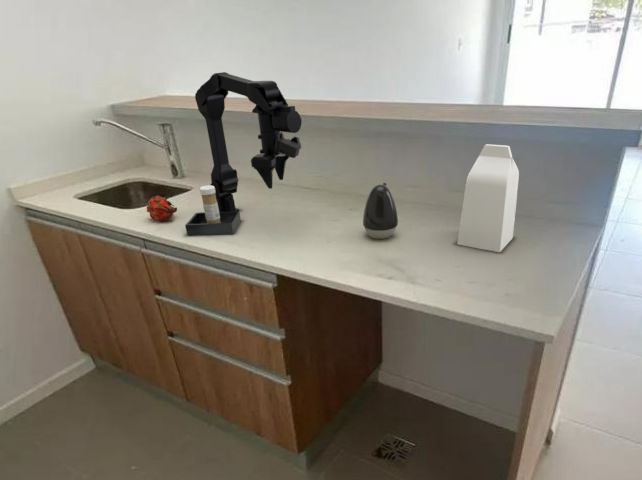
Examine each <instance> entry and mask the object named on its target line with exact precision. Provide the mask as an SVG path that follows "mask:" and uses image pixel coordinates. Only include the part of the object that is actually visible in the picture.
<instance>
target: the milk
mask: <svg viewBox="0 0 642 480" xmlns="http://www.w3.org/2000/svg"><path fill="white" fill-rule="evenodd" d="M519 180H520V172H519V167H518V166H517V164H516V161H515V160H514V157H513V153H512V150H511V146H510V145H503V144H492V143H491V144H490V143H486V144H484V146H483V148H482V149H481V151H480V153H479V155H478V157H477V158H476V160H475V162H474V164H473V166H472V167H471V169H470V171H469V172H468V175H467V178H466V182H465V187H464V196H463V201H462V207H461V208H462V209H461V216H460V223H459V230H458V236H457V242H456V245H459V246H463V247H469V248H475V249H480V250H485V251H490V252H495V253H501V252H502V251H503V250H504V249H505V247H506V246H507V245H508V244H509V243H510V242H511V241H512V240H513V238H514V229H515V220H516V219H515V218H516V209H517V201H518V189H519Z"/></svg>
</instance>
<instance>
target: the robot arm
mask: <svg viewBox="0 0 642 480" xmlns="http://www.w3.org/2000/svg"><path fill="white" fill-rule="evenodd" d="M229 92H231V93H234V94H238V95H241V96H244V97H246V98H247V99H248V101H249V102H251V103H253V104H254V105H255V106H254V108H252V110H251V112H252V113H253V114H257V119H258V127H259V134H258V135H257V139H258V140H260V144H261V149H260V150H259V153H257V154H255V155H254V156H253V157H251V159H250V164H251V165H250V166H251V168H253V169H254V170H256V172H257V173H258V174H259V176H260V177H261V179H262V181H263V182H264V184H265V185H266V187H267V188H268V189H270V190H272V189H273V171H274V170H275V172H276V175H277V177H278V180H279V181H283V180H284V175H285V171H286V170H285V169H286V164H287V161H288V160H289V159H290V158H292V159H295V158H297V157H298V156H299V154H300V150H302V143H301V141H300V137H298V136H293V137H292V138H291V139H290V138H285V136H284V133H291V134H296V133H298V132H299V131H300V129H301V127H302V122H303V121H302V117H301V115H300V113H299V112H298V111H297V110H296V106H295V105H289V104H288V102H287V99H286V98H285V97H284V95H283V93H282V91H281V90H280V88H279V87H278V83H277V82H276V81H274V80H251V79H248V78H244V77H240V76H237V75H233V74H230V73H228V72H226V71H223V72H215V73H213V74H212V75H211V76H210V78H209V79H207V81H205V82H204V83H203V84H202V85H201V86H200V87H199V88H198V89H197V90H196V92H195V94H194V99H195V102H196V105H197V110H198V112H199V113H200V114H201V115H202V117H203V118H204V119H205V124H206V129H207V135H208V140H209V145H210V151H211V156H212V163H213V167H212V170H211V172H210V180H211V183H210V185H211V186H214V187H215V195H216V200H217V204H218V209H219V212H229V211H239V212H240V209H239V208H237V207H236V204H235V199H234V194H236V193H237V192H238V186H239V182H240V180H239V177H238V171H237V169H234V168H233V167H232V165H231V164H230V160H229V155H228V149H227V143H226V136H225V130H224V123H223V115H224V112H225V110H226V109H225V108H226V106H225V105H226V103H225V99H226V98H227V96H228V95H229Z"/></svg>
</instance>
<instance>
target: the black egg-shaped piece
mask: <svg viewBox="0 0 642 480" xmlns="http://www.w3.org/2000/svg"><path fill="white" fill-rule="evenodd" d="M362 216H363V218H362V226H363V228H364V230H365V233H366V234H367V235H368V236H369V237H371V238H373V239H377V240H382V239H388V238H389V237H391V236H393V235H394V233H395V232H396V230H397V227H398V225H399V219H398V218H399V217H398V211H397V207H396V202H395V199H394V196H393V194H392V191H391V190H390V189H389V187H388V186H387V183H386V182H383V183H382V184H376V185H374V186H373V187H372V188H371V190H370V192H369V193H368V196H367V198H366V203H365V207H364V211H363V215H362Z"/></svg>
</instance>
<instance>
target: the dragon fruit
mask: <svg viewBox="0 0 642 480" xmlns="http://www.w3.org/2000/svg"><path fill="white" fill-rule="evenodd" d="M177 211H178V207H175V205H173V204H172V202H171V201H170V200H168V198H166V197H165V196H164V197H162V196H160V195H155V196H152V197H151V198H150V199H149V200H148V202H147V206H146V212H147V213H148V214H149V216H150V218H151V219H152V220H153V221H154V220H156V219H157V220H158V221H160V222H164V223H165V222H168V220H167V219H169V218H171V219H172V218H173V217H174V216H175V215H174V213H176V212H177Z"/></svg>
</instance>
